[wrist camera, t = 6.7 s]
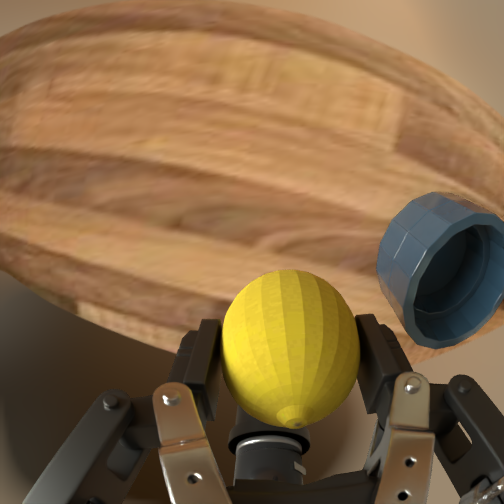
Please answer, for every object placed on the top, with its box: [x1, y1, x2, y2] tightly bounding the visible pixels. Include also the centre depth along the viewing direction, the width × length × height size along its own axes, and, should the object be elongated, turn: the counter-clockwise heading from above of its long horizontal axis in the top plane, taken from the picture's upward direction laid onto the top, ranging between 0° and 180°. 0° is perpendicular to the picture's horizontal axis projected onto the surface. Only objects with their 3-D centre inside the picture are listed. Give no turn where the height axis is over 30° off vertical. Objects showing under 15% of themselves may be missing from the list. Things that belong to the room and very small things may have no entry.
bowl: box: [376, 192, 504, 349], centre depth 16 cm, size 9×9×6 cm
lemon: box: [220, 270, 360, 429], centre depth 11 cm, size 6×6×8 cm
